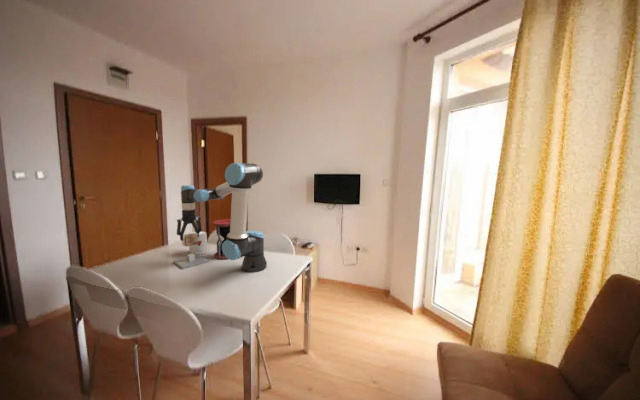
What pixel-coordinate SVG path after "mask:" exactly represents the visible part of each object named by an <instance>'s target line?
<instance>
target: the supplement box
mask: <svg viewBox="0 0 640 400" xmlns="http://www.w3.org/2000/svg"><path fill="white" fill-rule="evenodd" d="M192 233H194V234H195V233H196V231H193V232H189V233H188V234H192ZM207 238H208V236H207V232H206V231H201V232H200V233H199V238H198V244H197V245H192V246H188V248H189V253H188V254H194V256H195V255H201V254H205V253H208V242H207V241H208V239H207Z"/></svg>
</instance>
